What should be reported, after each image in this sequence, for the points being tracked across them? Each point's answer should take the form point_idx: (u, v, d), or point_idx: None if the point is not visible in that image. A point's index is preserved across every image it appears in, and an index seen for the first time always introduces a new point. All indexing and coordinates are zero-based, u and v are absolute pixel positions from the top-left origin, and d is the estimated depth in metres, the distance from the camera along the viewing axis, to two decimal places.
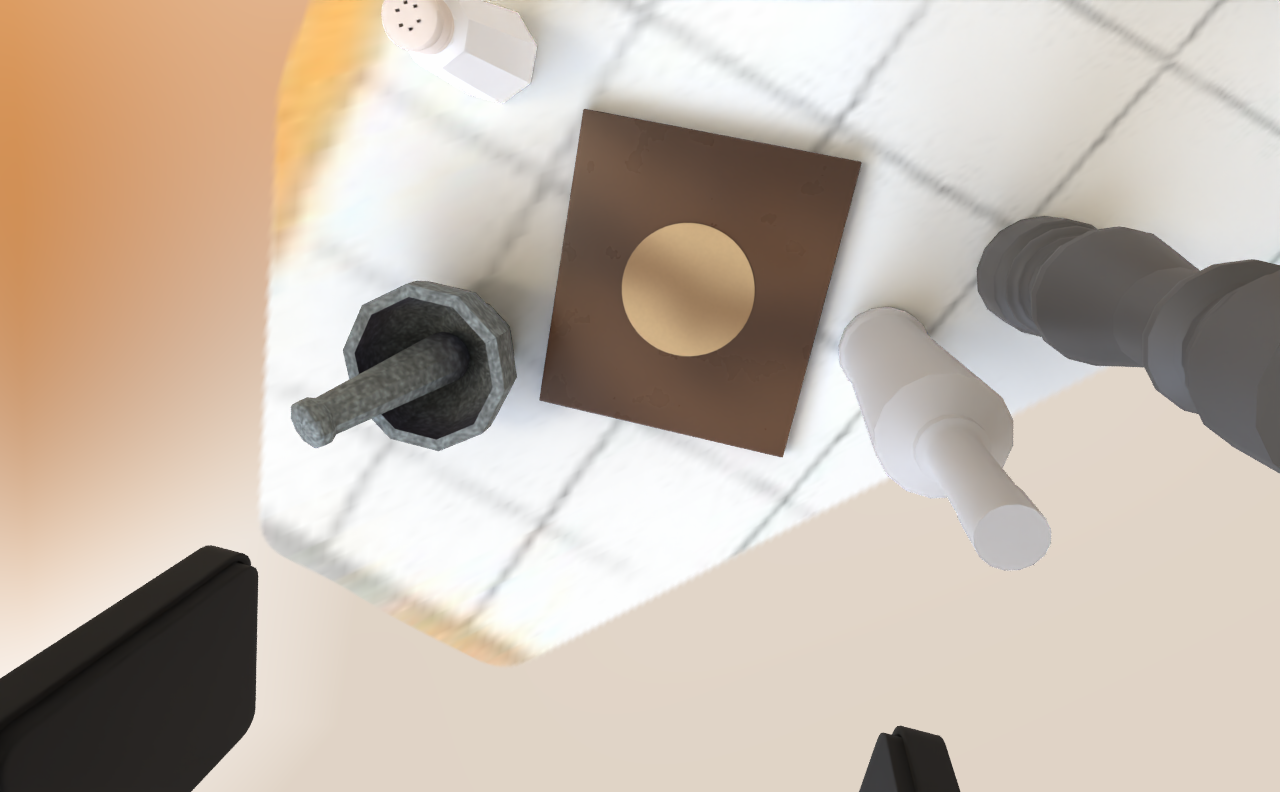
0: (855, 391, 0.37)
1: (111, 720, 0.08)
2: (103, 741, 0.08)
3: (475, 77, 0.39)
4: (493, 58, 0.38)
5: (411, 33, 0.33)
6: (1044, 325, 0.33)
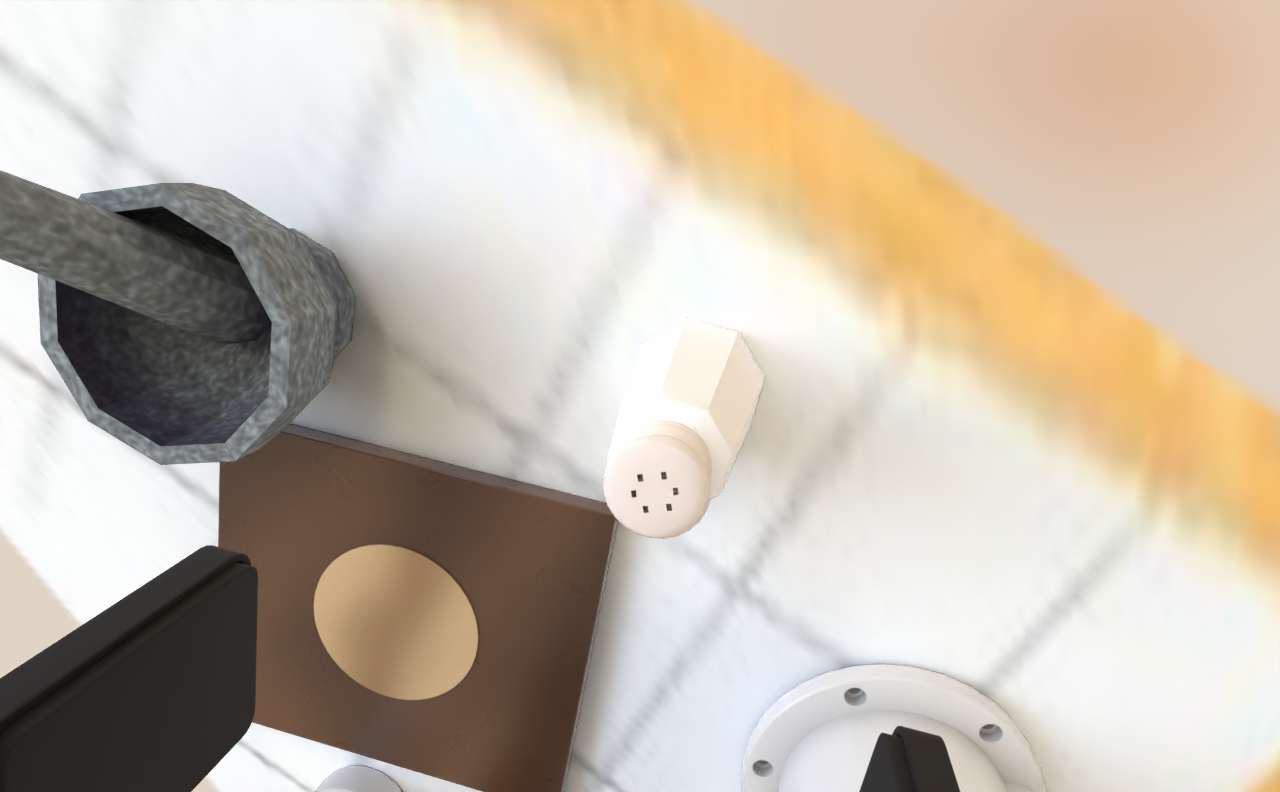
0: None
1: (111, 720, 0.08)
2: (103, 741, 0.08)
3: None
4: None
5: (626, 495, 0.19)
6: None
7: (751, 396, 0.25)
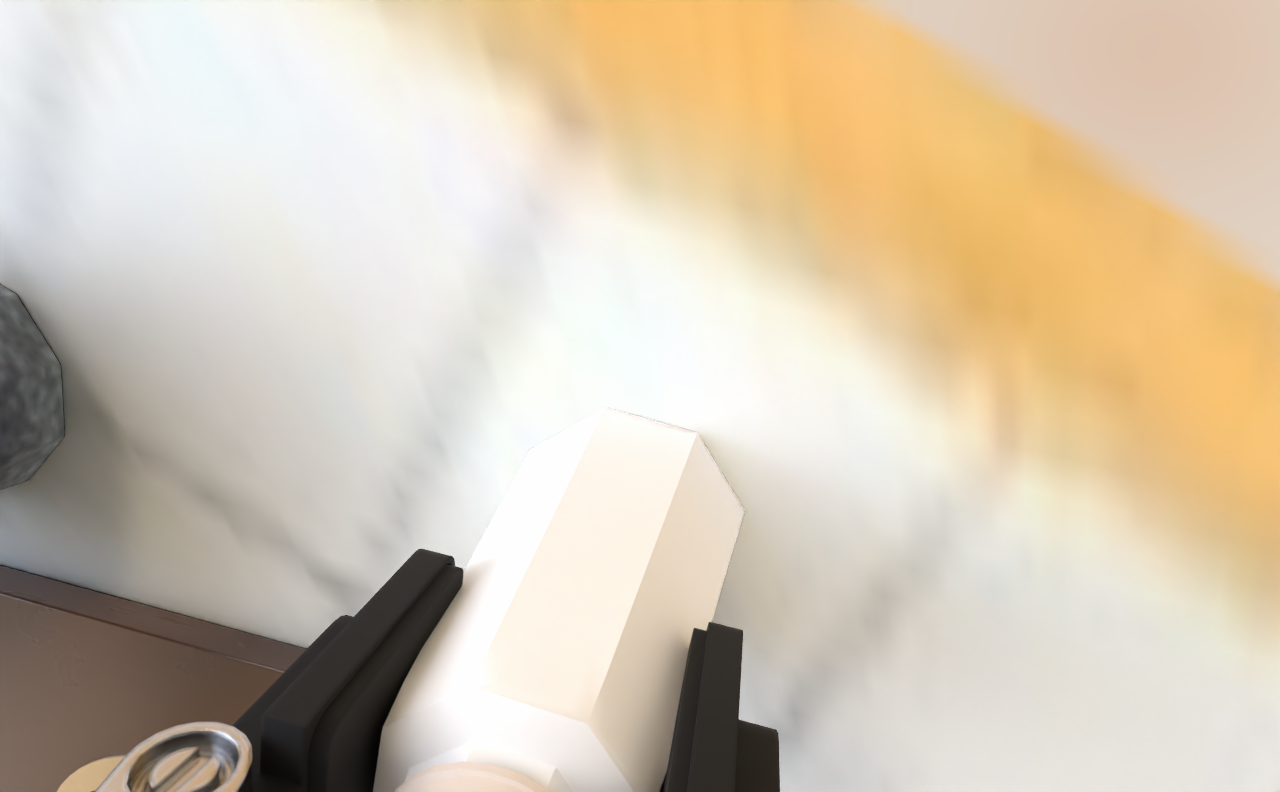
0: None
1: (381, 707, 0.09)
2: (375, 726, 0.09)
3: None
4: None
5: None
6: None
7: (715, 580, 0.13)
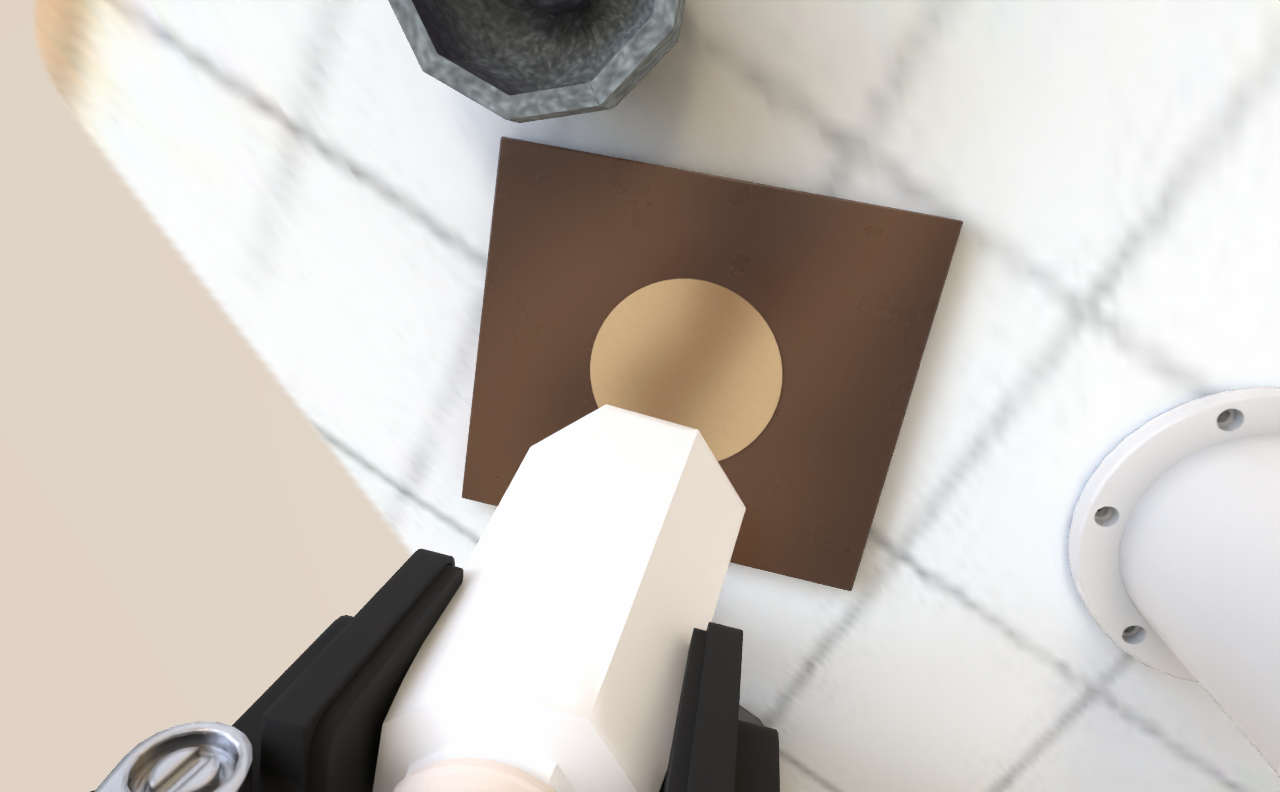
0: None
1: (381, 708, 0.09)
2: (375, 726, 0.09)
3: None
4: None
5: None
6: None
7: (716, 577, 0.13)
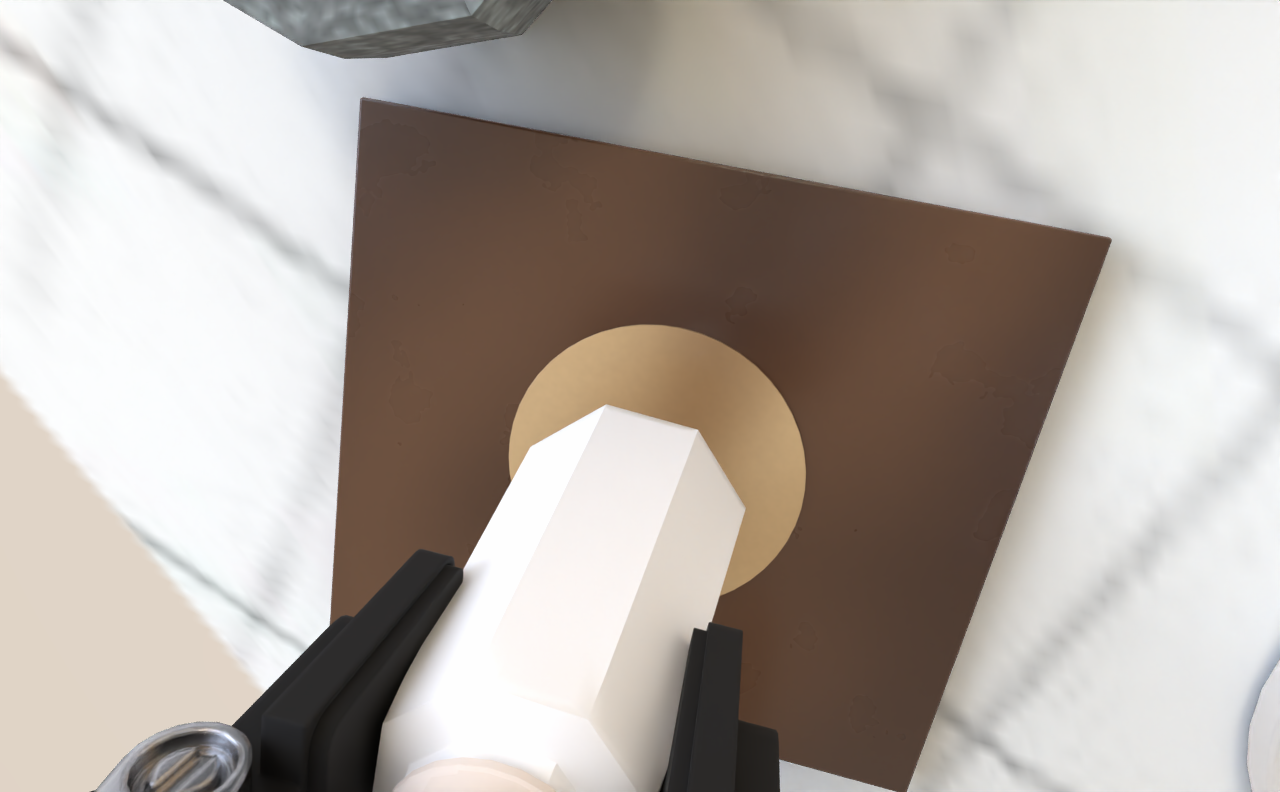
0: None
1: (381, 708, 0.09)
2: (375, 726, 0.09)
3: None
4: None
5: None
6: None
7: (715, 577, 0.13)
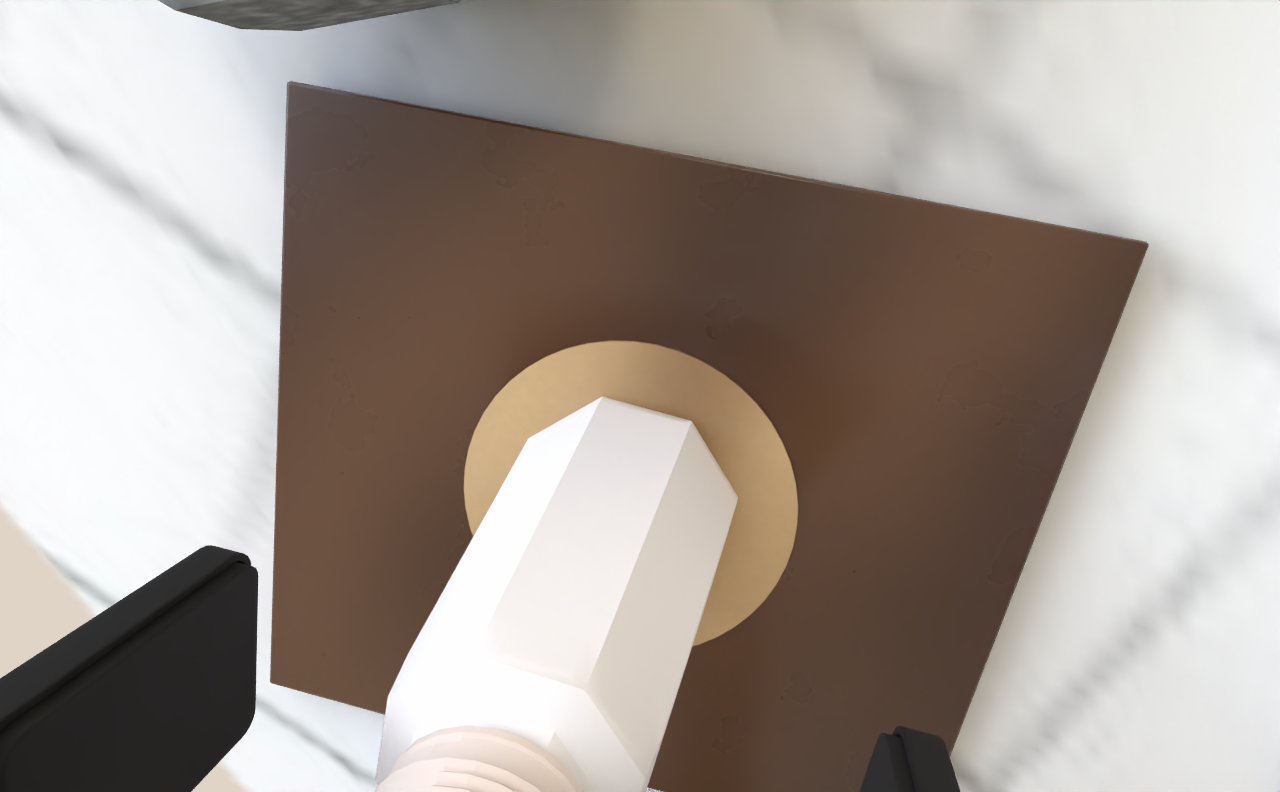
0: None
1: (111, 720, 0.08)
2: (103, 741, 0.08)
3: None
4: None
5: None
6: None
7: (708, 562, 0.14)
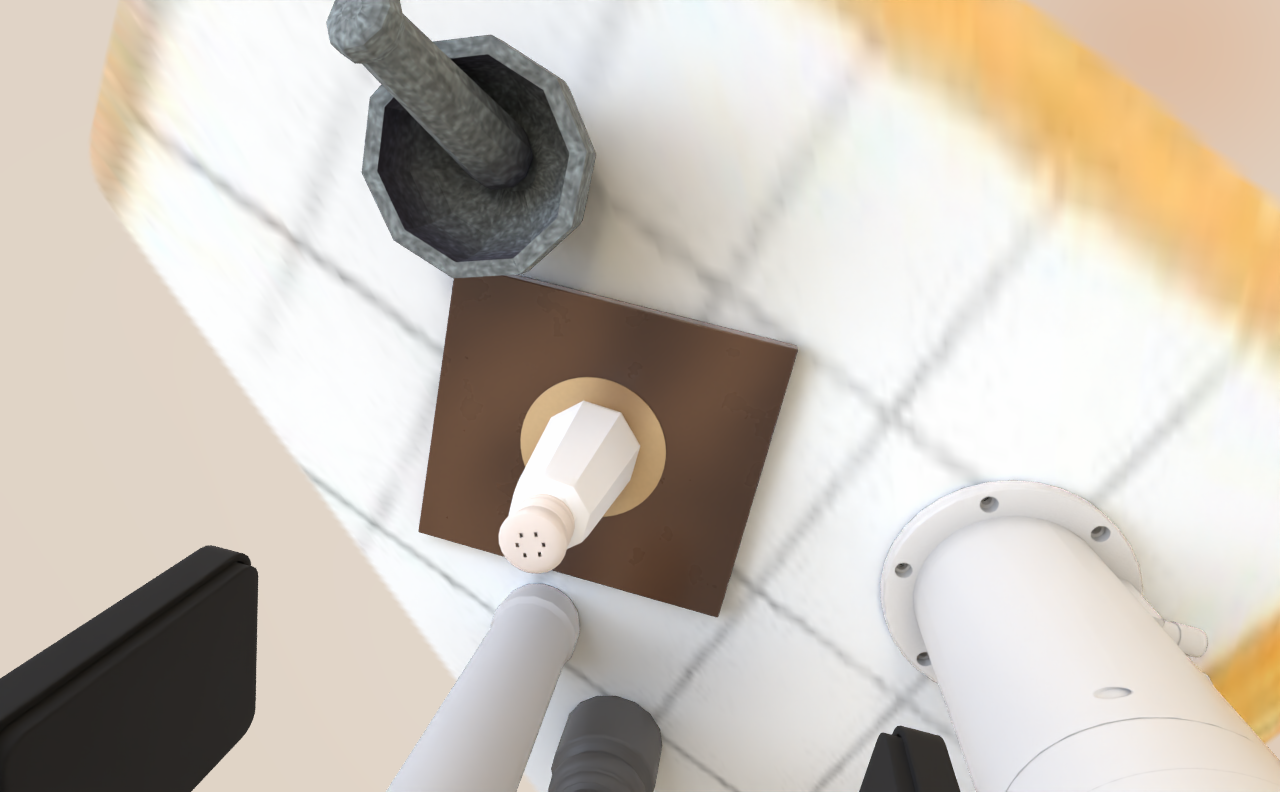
0: (482, 669, 0.36)
1: (111, 720, 0.08)
2: (103, 741, 0.08)
3: None
4: None
5: (512, 545, 0.29)
6: None
7: (620, 465, 0.36)
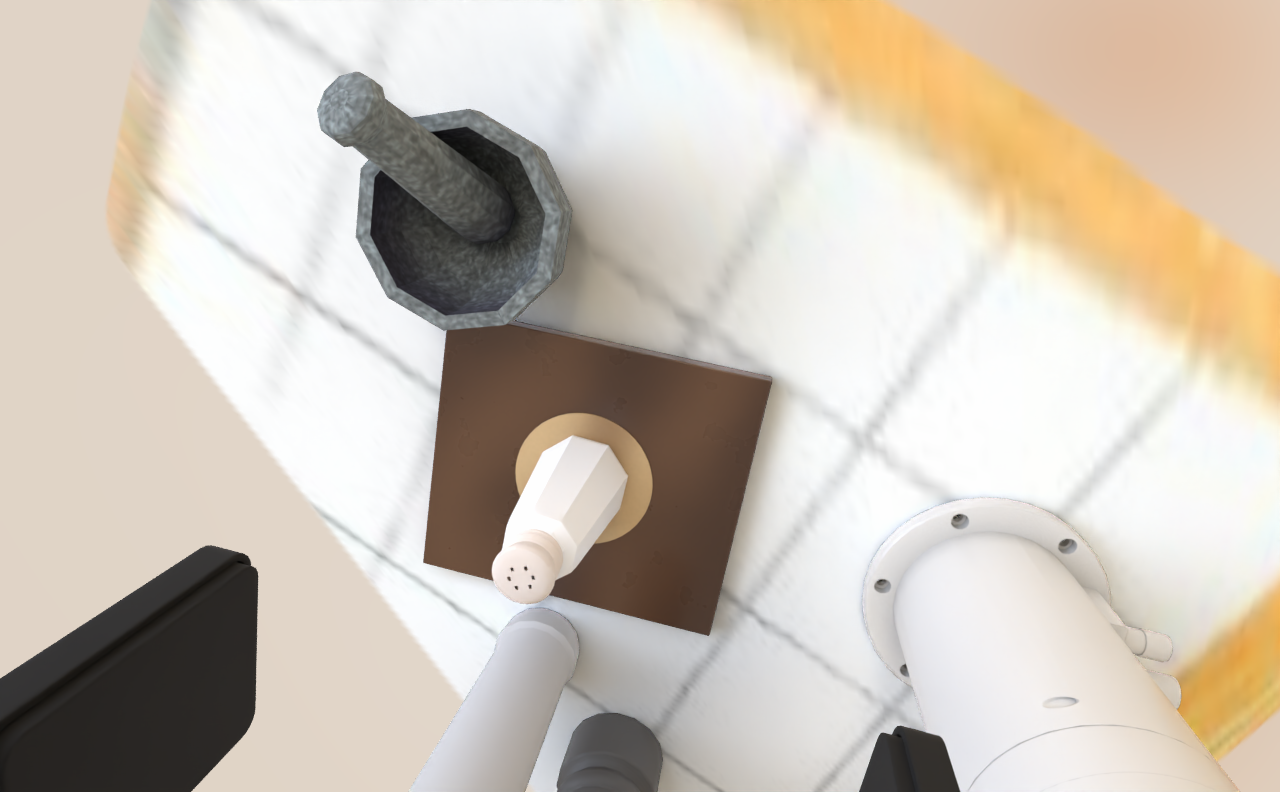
0: (484, 693, 0.38)
1: (111, 720, 0.08)
2: (103, 741, 0.08)
3: None
4: None
5: (504, 579, 0.32)
6: None
7: (608, 497, 0.38)
